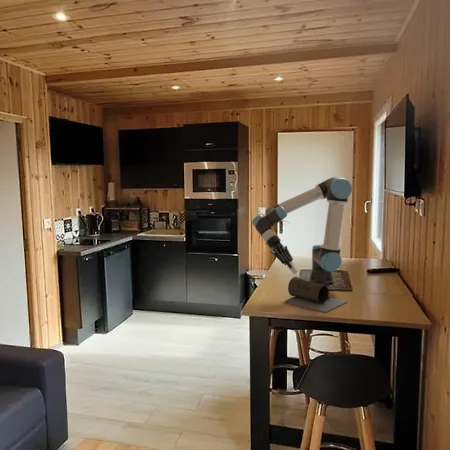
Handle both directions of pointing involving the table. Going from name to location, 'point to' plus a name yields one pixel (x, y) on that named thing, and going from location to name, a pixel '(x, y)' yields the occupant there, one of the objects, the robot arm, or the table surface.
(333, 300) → the mat
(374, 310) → the table surface
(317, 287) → the beer stein
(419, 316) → the table surface
